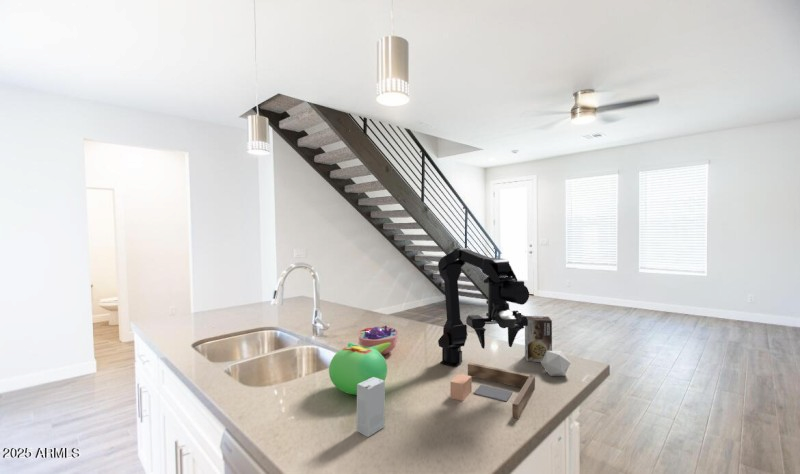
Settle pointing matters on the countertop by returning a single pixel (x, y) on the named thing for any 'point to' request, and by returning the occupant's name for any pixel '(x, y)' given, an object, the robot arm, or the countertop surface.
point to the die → (555, 363)
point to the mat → (493, 393)
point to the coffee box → (538, 338)
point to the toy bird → (357, 366)
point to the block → (461, 387)
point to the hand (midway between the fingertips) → (496, 347)
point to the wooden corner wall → (507, 378)
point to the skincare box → (370, 406)
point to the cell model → (378, 337)
